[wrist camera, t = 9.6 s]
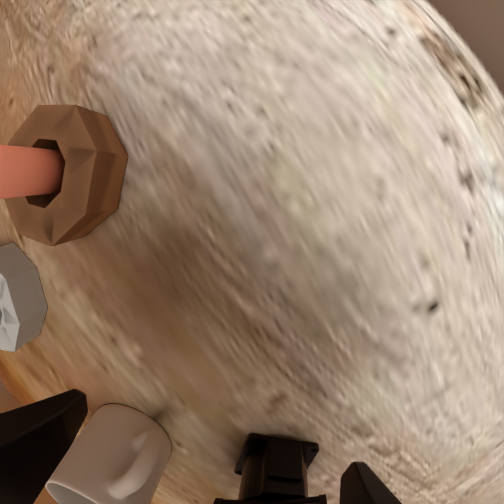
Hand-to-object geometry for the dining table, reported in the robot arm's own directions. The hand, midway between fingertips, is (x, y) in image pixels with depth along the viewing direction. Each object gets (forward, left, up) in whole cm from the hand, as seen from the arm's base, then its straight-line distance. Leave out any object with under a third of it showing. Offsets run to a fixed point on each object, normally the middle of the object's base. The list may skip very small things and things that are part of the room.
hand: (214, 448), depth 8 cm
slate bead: (-6, +22, -12) cm, 26 cm away
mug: (-16, +7, -13) cm, 22 cm away
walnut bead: (+6, +15, -12) cm, 20 cm away
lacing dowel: (+6, +15, -12) cm, 20 cm away
